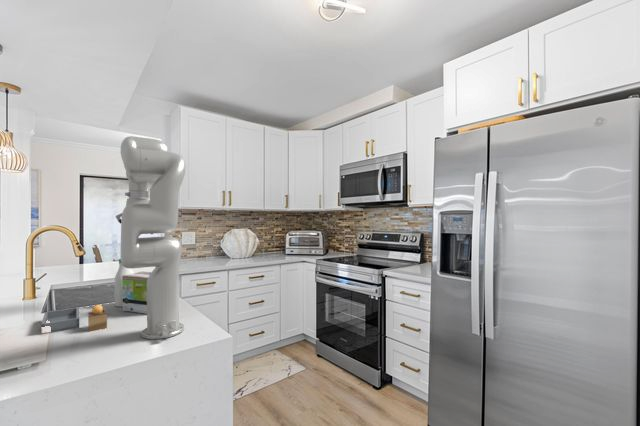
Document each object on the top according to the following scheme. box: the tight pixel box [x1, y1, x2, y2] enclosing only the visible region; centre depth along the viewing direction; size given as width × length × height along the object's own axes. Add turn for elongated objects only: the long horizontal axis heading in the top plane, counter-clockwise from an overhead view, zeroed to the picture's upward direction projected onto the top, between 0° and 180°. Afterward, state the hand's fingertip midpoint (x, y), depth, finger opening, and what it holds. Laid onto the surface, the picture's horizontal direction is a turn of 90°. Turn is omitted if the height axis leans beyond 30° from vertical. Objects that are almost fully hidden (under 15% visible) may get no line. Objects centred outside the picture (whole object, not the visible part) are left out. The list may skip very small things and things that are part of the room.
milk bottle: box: [114, 258, 135, 308], centre depth 137 cm, size 8×8×20 cm
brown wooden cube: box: [87, 309, 108, 332], centre depth 109 cm, size 5×5×5 cm
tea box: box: [122, 271, 152, 315], centre depth 130 cm, size 15×10×15 cm, turn 73°
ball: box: [91, 304, 104, 314], centre depth 109 cm, size 3×3×3 cm
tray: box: [40, 306, 80, 334], centre depth 113 cm, size 17×10×3 cm, turn 38°
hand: (139, 234), depth 138 cm, fingers open, 9 cm apart
